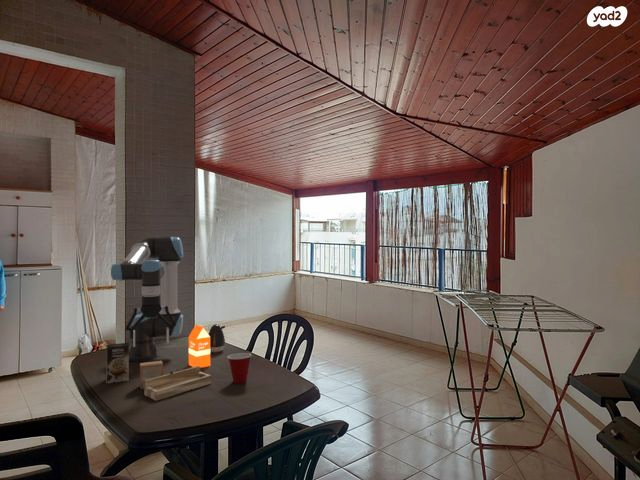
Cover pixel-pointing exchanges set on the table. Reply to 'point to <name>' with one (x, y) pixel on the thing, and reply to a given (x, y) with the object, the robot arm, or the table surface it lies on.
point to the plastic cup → (239, 366)
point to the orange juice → (199, 347)
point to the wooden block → (150, 371)
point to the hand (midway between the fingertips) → (151, 344)
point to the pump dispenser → (216, 338)
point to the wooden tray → (175, 383)
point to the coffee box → (117, 363)
